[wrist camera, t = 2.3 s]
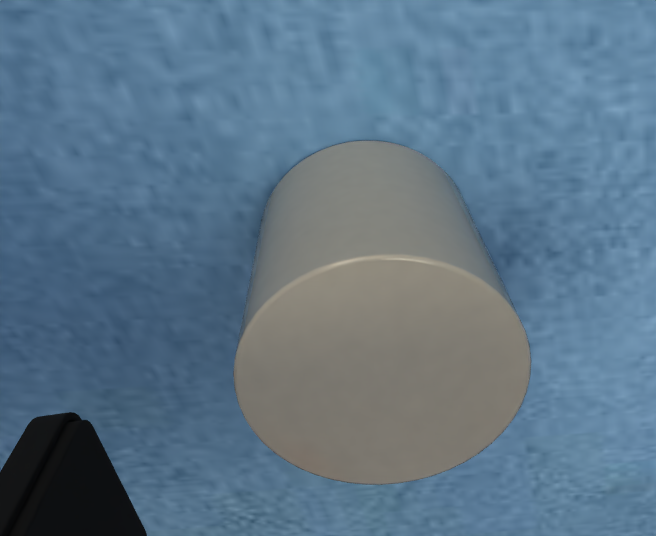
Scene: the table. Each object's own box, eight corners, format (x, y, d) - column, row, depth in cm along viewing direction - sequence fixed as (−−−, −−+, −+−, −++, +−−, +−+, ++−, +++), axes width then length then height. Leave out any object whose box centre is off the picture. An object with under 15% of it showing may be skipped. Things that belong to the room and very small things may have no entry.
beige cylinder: (237, 160, 13) (195, 284, 9) (461, 120, 13) (530, 231, 9) (284, 336, 16) (270, 501, 11) (474, 308, 15) (534, 467, 11)
